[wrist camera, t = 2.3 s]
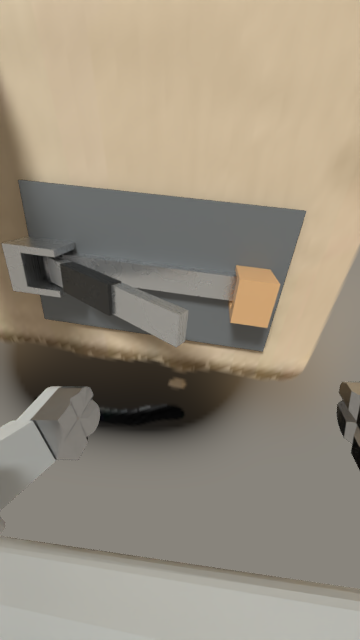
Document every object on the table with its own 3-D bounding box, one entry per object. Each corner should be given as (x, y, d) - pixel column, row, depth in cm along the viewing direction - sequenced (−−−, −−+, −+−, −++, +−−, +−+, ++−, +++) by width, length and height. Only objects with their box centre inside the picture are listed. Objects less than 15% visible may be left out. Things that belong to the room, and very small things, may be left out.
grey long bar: (37, 278, 34) (13, 290, 30) (28, 236, 31) (1, 243, 27) (259, 309, 32) (265, 326, 28) (271, 266, 29) (279, 278, 25)
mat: (48, 315, 38) (44, 318, 37) (24, 180, 29) (18, 179, 28) (261, 347, 35) (262, 351, 34) (303, 210, 27) (306, 211, 26)
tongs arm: (56, 276, 32) (42, 279, 30) (52, 251, 30) (37, 253, 29) (186, 341, 21) (173, 350, 20) (190, 308, 20) (176, 315, 19)
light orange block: (228, 303, 32) (230, 322, 27) (236, 265, 29) (239, 279, 25) (259, 307, 31) (267, 327, 27) (270, 269, 29) (280, 284, 24)
